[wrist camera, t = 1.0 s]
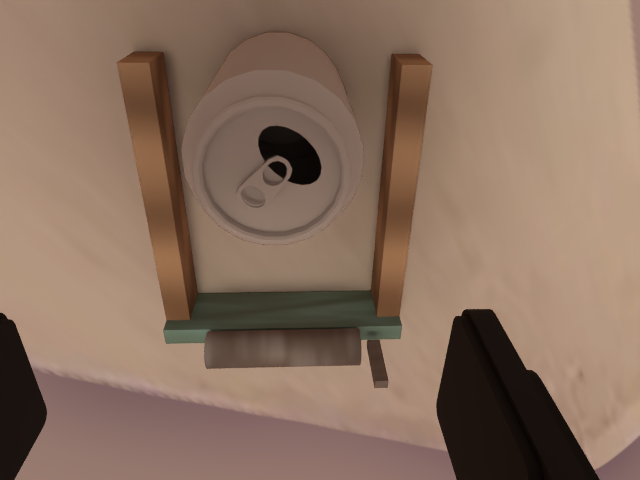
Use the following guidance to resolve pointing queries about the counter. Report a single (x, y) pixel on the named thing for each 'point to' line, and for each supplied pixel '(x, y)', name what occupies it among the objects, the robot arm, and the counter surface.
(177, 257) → the bay
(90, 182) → the counter surface
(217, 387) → the counter surface
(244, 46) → the can
